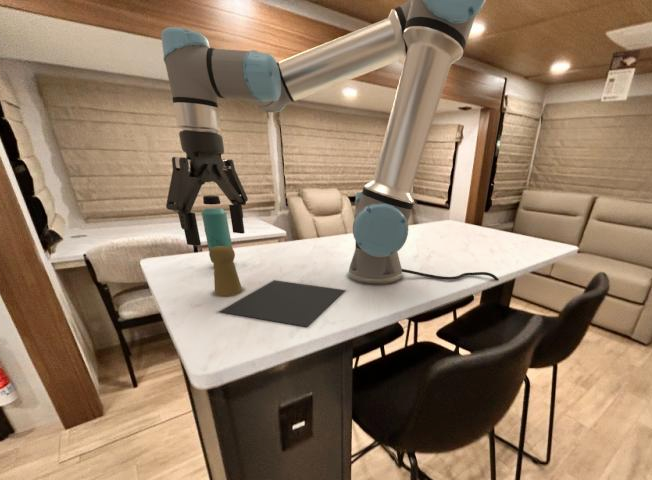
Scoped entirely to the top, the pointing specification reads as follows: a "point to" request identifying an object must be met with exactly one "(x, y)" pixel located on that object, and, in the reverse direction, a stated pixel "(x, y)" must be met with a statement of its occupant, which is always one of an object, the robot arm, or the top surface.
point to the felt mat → (285, 303)
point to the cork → (225, 271)
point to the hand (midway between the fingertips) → (218, 238)
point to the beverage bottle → (215, 224)
